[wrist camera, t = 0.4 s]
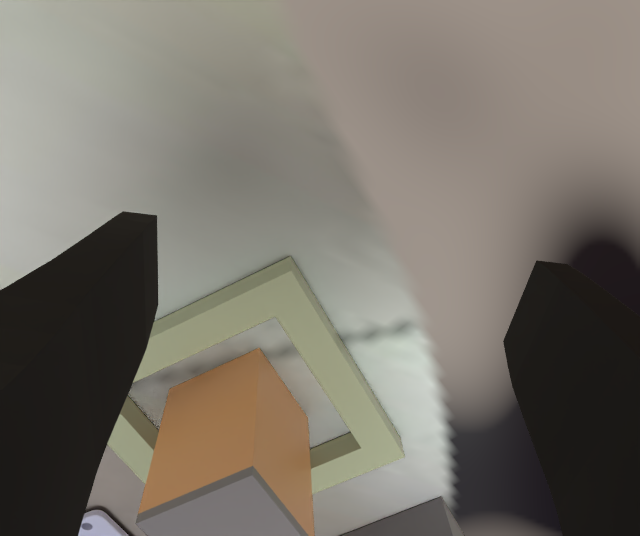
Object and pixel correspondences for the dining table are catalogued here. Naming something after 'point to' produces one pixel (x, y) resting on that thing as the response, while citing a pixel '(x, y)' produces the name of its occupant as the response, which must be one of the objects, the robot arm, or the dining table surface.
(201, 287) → the dining table surface
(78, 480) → the robot arm
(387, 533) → the socket block
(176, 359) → the tray
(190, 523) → the plug
